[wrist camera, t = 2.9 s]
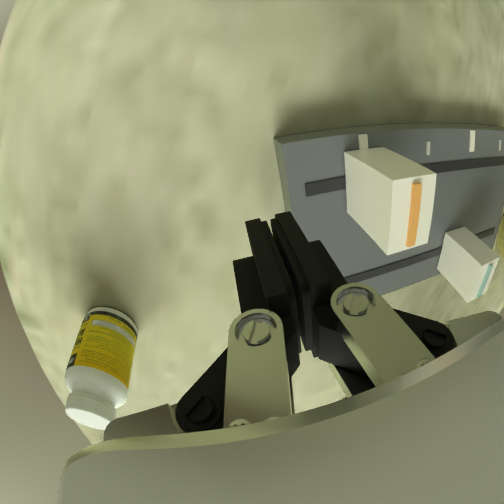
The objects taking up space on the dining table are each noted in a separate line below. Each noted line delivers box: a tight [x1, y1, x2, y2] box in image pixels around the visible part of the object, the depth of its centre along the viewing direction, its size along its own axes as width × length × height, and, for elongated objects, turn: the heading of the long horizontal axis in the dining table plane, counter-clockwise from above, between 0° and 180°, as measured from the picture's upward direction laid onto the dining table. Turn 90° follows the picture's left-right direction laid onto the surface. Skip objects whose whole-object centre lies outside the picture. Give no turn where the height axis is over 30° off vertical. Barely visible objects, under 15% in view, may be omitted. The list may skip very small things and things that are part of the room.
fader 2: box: [437, 226, 500, 303], centre depth 18 cm, size 4×3×5 cm
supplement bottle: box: [65, 307, 138, 430], centre depth 18 cm, size 5×5×10 cm
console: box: [274, 123, 504, 295], centre depth 19 cm, size 14×24×2 cm, turn 101°
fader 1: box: [344, 147, 437, 255], centre depth 13 cm, size 4×3×5 cm
